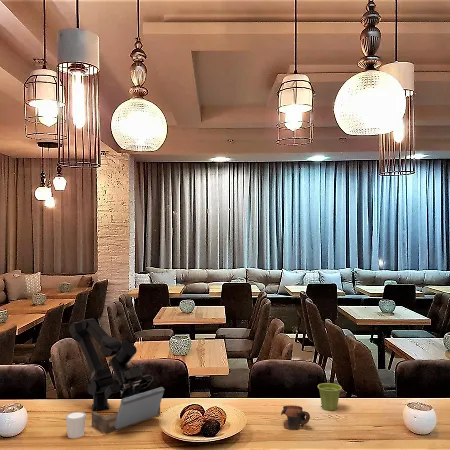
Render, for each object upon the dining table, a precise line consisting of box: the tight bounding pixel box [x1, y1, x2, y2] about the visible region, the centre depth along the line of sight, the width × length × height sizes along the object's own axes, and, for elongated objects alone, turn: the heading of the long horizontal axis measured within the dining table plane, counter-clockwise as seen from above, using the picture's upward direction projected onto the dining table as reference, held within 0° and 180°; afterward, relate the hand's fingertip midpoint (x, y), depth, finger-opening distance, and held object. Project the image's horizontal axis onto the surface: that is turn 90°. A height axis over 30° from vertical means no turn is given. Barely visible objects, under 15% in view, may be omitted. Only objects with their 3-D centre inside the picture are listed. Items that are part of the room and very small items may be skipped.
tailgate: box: [114, 386, 165, 429], centre depth 181 cm, size 2×18×12 cm, turn 136°
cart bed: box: [91, 405, 161, 435], centre depth 187 cm, size 10×24×5 cm, turn 135°
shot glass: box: [65, 411, 87, 439], centre depth 175 cm, size 7×7×7 cm
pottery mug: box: [280, 405, 311, 430], centre depth 183 cm, size 12×10×8 cm
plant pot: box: [317, 382, 343, 411], centre depth 199 cm, size 9×9×9 cm
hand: (138, 406), depth 182 cm, fingers closed, pressing on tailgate
